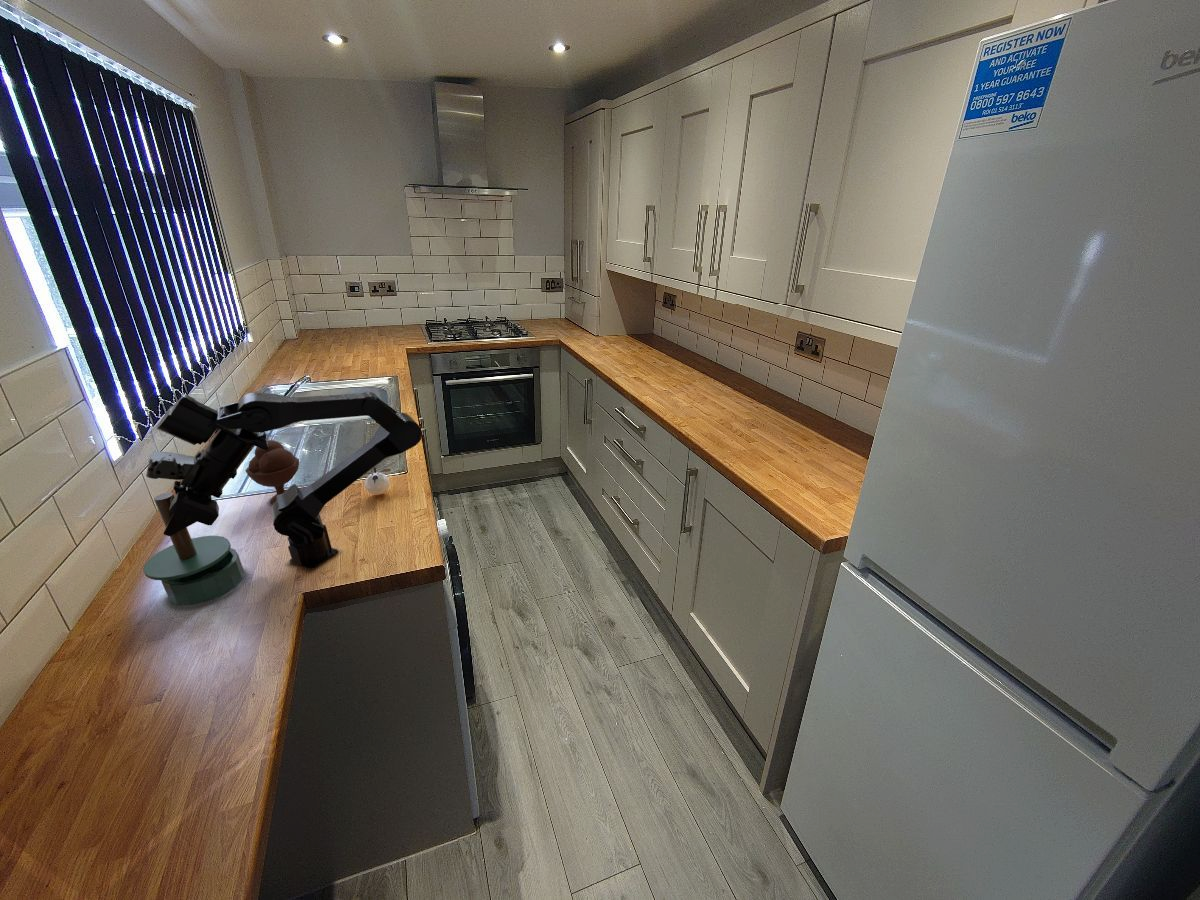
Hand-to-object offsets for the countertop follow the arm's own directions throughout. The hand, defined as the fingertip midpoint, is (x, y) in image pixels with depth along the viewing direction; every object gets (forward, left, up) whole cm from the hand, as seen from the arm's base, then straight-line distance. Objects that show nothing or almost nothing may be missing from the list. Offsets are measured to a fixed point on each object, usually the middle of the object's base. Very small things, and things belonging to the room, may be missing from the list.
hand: (167, 531), depth 90 cm
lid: (-1, +1, -6) cm, 6 cm away
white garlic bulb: (-42, +4, -11) cm, 44 cm away
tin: (-3, 0, -14) cm, 14 cm away
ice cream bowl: (-32, -17, -14) cm, 38 cm away
